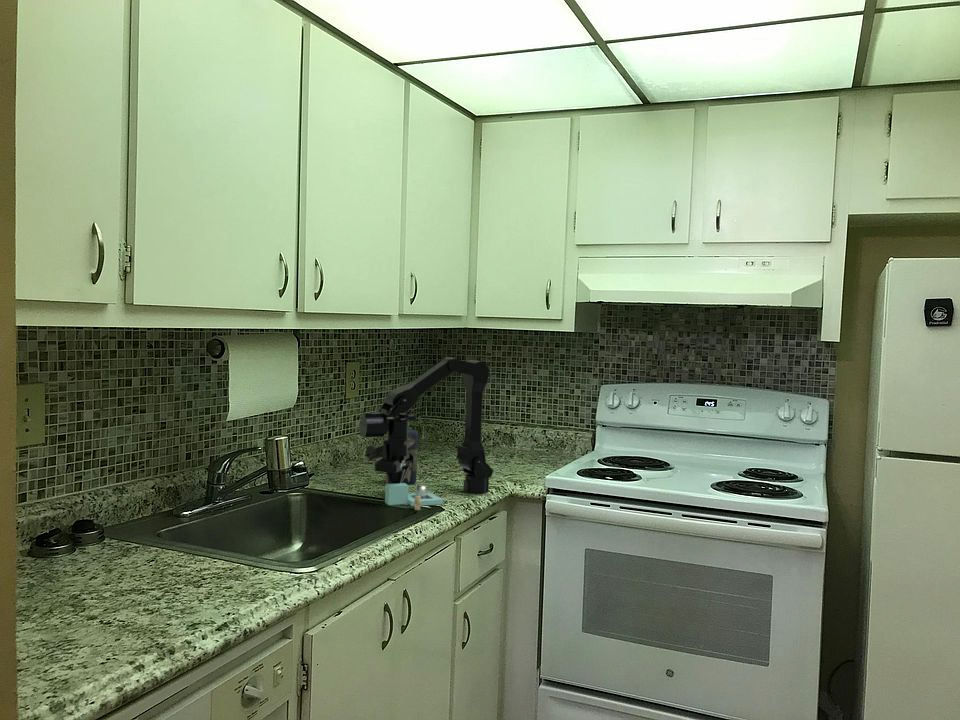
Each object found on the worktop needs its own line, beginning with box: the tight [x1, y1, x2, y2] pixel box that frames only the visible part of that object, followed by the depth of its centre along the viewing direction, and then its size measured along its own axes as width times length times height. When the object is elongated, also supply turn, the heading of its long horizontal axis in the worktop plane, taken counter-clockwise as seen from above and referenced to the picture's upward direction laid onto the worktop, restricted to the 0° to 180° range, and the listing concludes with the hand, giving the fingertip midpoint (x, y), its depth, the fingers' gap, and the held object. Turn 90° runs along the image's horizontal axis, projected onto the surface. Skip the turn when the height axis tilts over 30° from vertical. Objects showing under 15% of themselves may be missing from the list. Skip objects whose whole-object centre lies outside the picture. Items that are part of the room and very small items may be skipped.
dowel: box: [414, 496, 422, 511], centre depth 202 cm, size 2×2×4 cm
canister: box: [385, 428, 419, 486], centre depth 235 cm, size 10×10×18 cm
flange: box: [384, 483, 444, 507], centre depth 209 cm, size 14×9×5 cm, turn 117°
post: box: [415, 484, 428, 499], centre depth 210 cm, size 3×3×4 cm
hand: (395, 492), depth 212 cm, fingers closed
